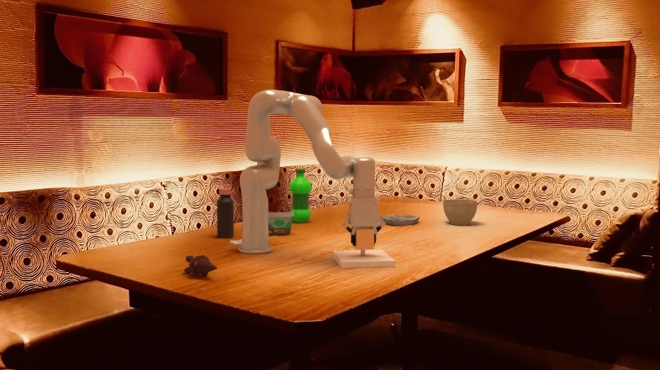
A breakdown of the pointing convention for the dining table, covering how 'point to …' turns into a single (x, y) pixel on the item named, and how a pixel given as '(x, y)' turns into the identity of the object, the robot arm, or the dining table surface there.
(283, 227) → the food container
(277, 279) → the dining table surface
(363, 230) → the orange block
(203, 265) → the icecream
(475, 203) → the planter bowl
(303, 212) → the plastic bottle
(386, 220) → the grey stone plate
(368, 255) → the post board
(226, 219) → the vinegar
